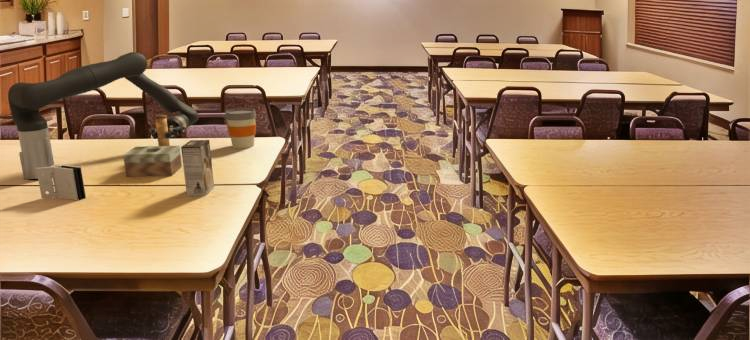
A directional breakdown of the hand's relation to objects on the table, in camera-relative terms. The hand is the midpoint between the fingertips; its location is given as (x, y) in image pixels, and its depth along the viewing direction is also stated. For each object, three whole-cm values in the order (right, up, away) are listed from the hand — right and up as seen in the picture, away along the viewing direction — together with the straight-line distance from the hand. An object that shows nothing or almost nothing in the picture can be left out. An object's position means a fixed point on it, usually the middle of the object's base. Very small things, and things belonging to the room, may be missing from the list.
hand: (160, 135), depth 217 cm
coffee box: (+24, -20, -30) cm, 44 cm away
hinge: (-18, -22, -34) cm, 44 cm away
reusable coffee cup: (+24, -3, +29) cm, 38 cm away
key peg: (0, -8, +5) cm, 10 cm away
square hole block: (+1, -13, -7) cm, 15 cm away
